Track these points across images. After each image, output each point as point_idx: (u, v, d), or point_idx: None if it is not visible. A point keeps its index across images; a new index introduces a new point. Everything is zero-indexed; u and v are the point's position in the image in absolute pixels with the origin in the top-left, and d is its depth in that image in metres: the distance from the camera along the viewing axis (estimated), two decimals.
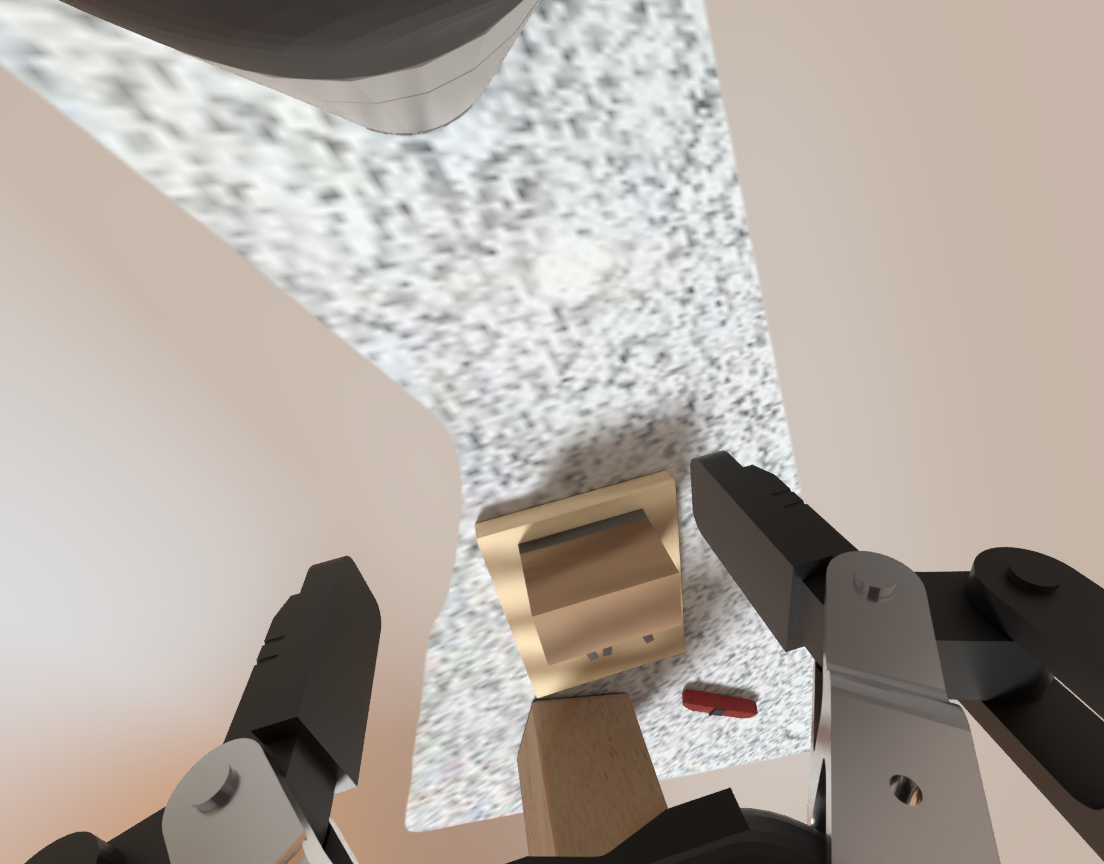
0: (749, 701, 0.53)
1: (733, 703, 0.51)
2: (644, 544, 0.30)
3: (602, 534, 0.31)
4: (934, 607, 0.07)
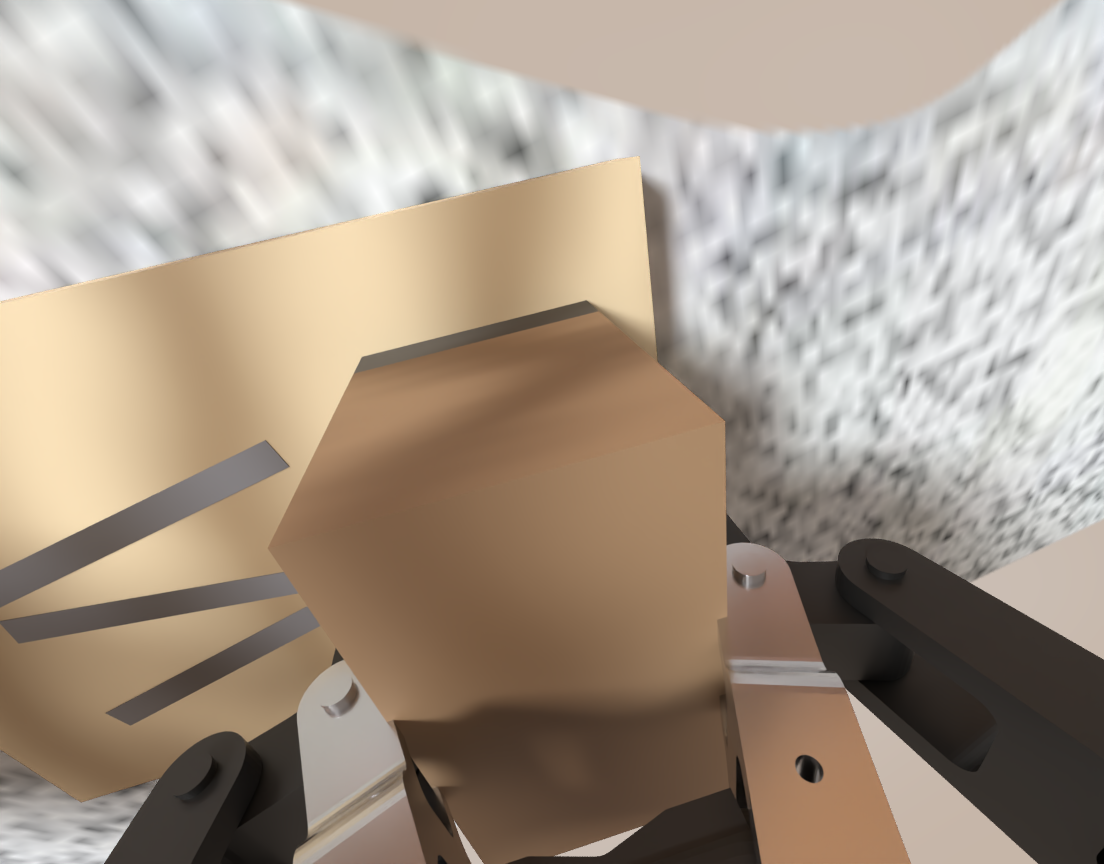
0: None
1: None
2: None
3: None
4: (804, 594, 0.07)
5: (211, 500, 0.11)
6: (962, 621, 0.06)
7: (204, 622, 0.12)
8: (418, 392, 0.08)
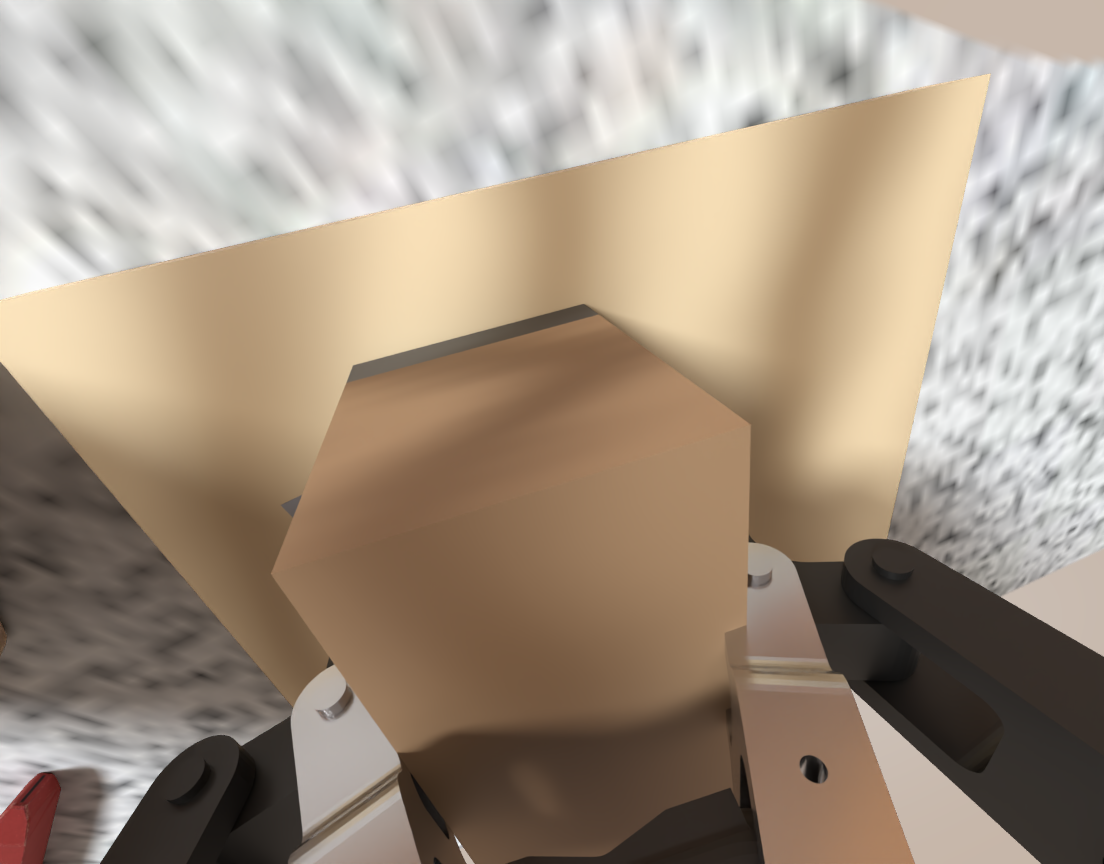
0: None
1: None
2: None
3: None
4: (810, 594, 0.07)
5: None
6: (969, 622, 0.06)
7: None
8: (419, 401, 0.07)
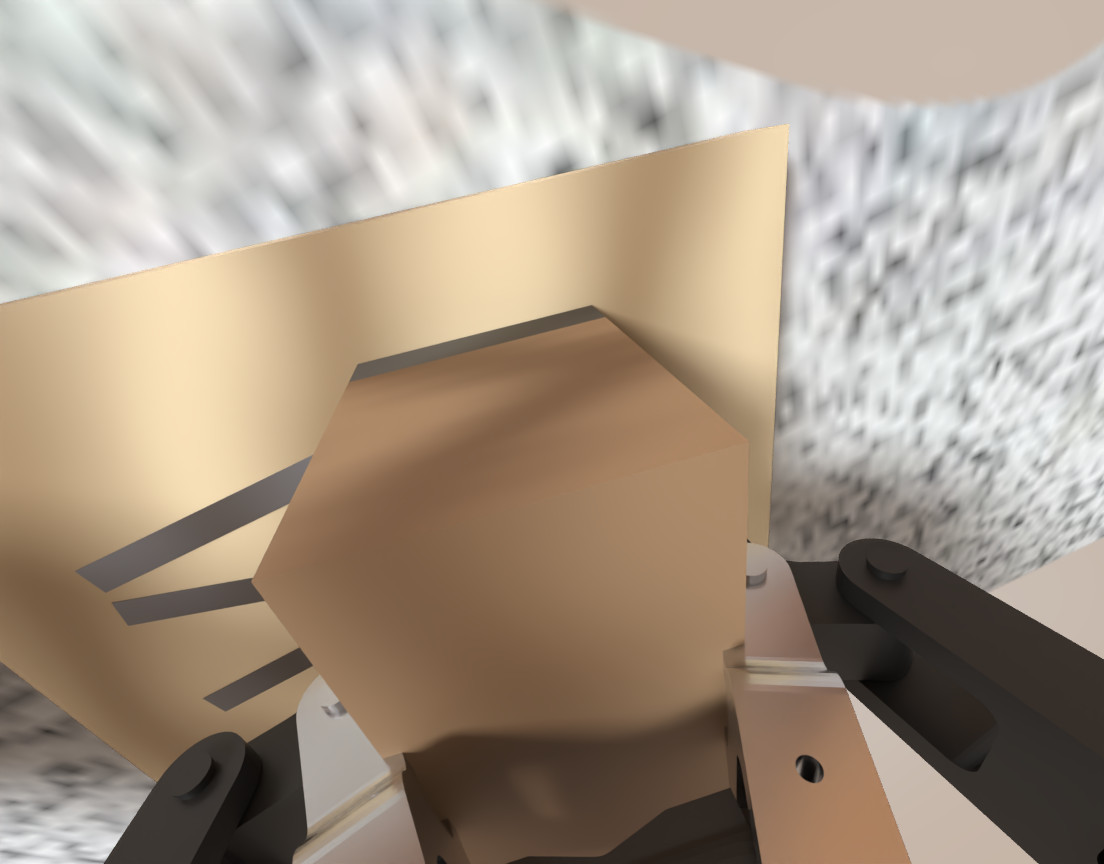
0: None
1: None
2: None
3: None
4: (804, 593, 0.07)
5: None
6: (962, 621, 0.06)
7: None
8: (416, 403, 0.07)
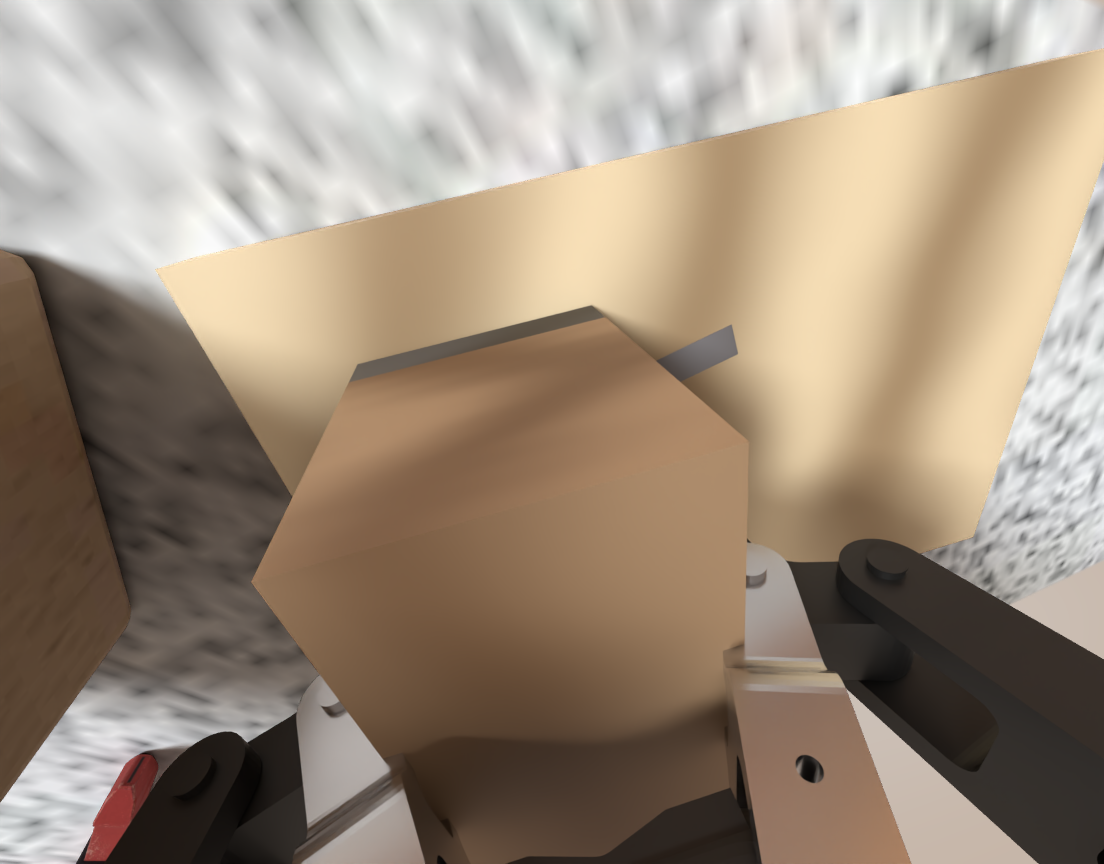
0: None
1: None
2: None
3: None
4: (804, 593, 0.07)
5: None
6: (963, 621, 0.06)
7: None
8: (416, 404, 0.07)
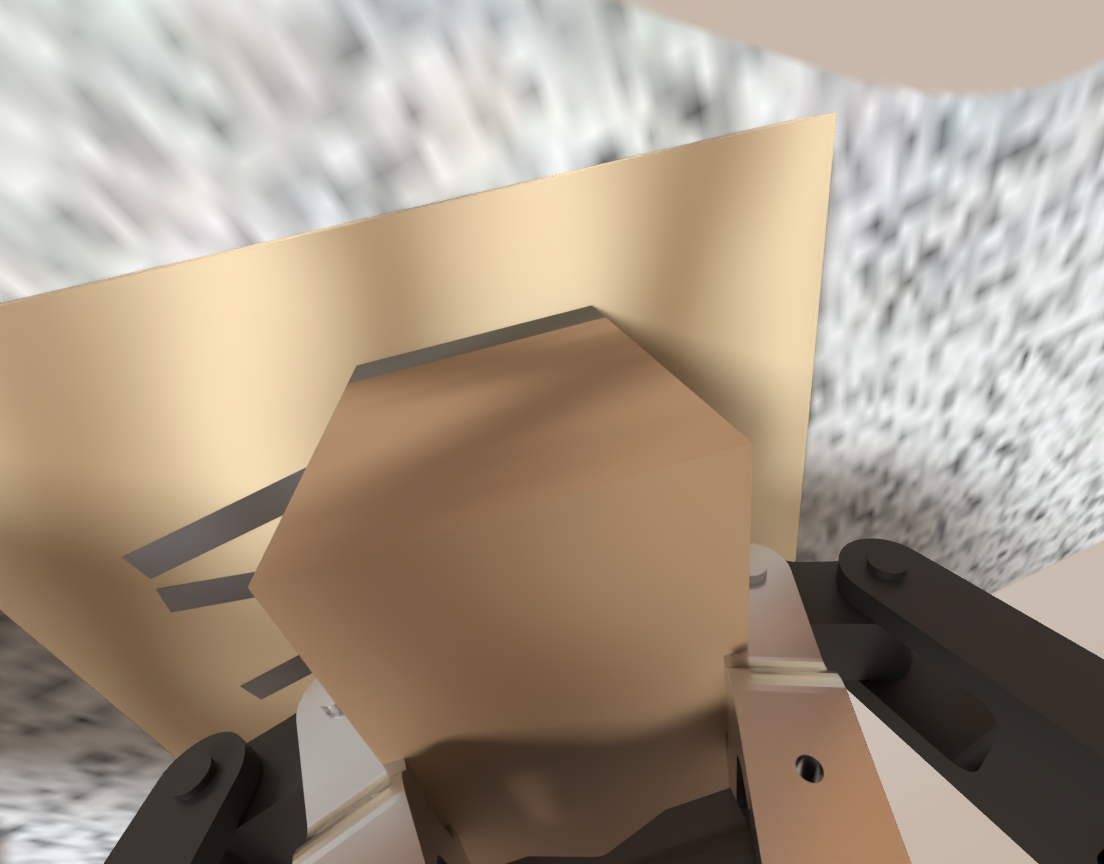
0: None
1: None
2: None
3: None
4: (804, 593, 0.07)
5: None
6: (963, 621, 0.06)
7: None
8: (415, 405, 0.07)
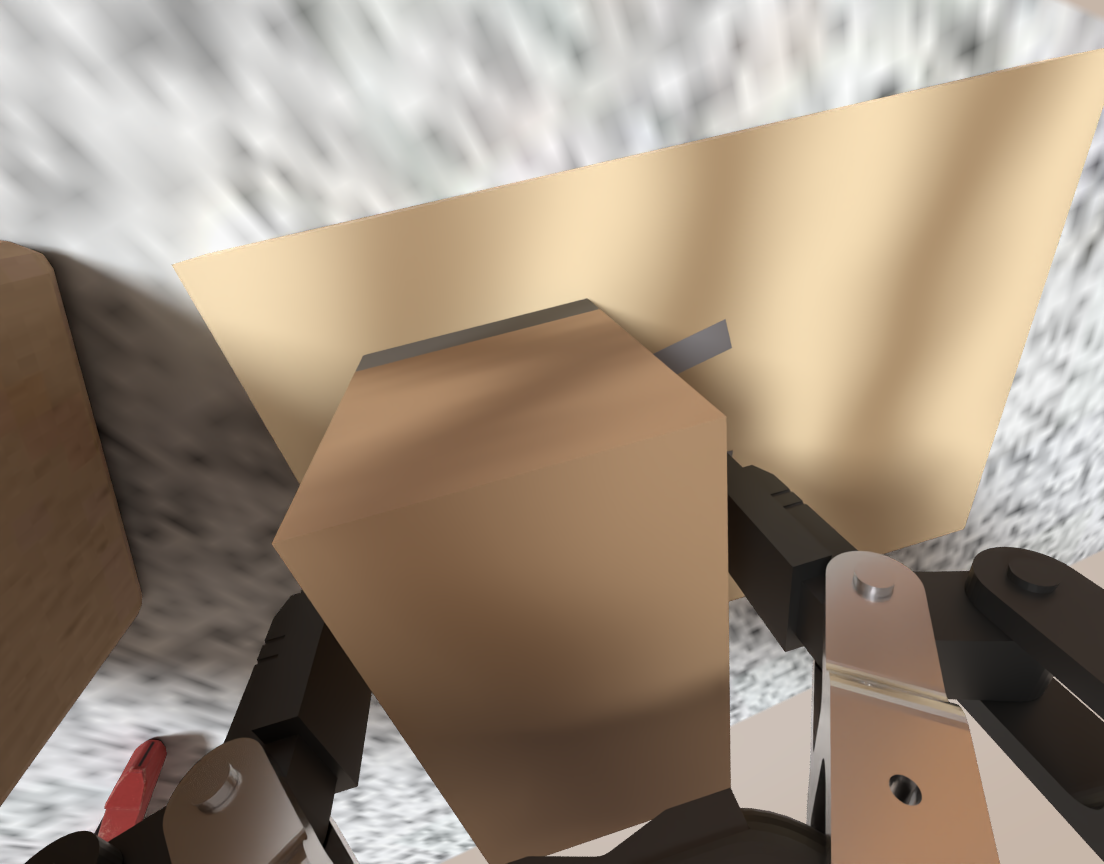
0: None
1: None
2: None
3: None
4: (933, 607, 0.07)
5: None
6: None
7: None
8: (420, 390, 0.08)
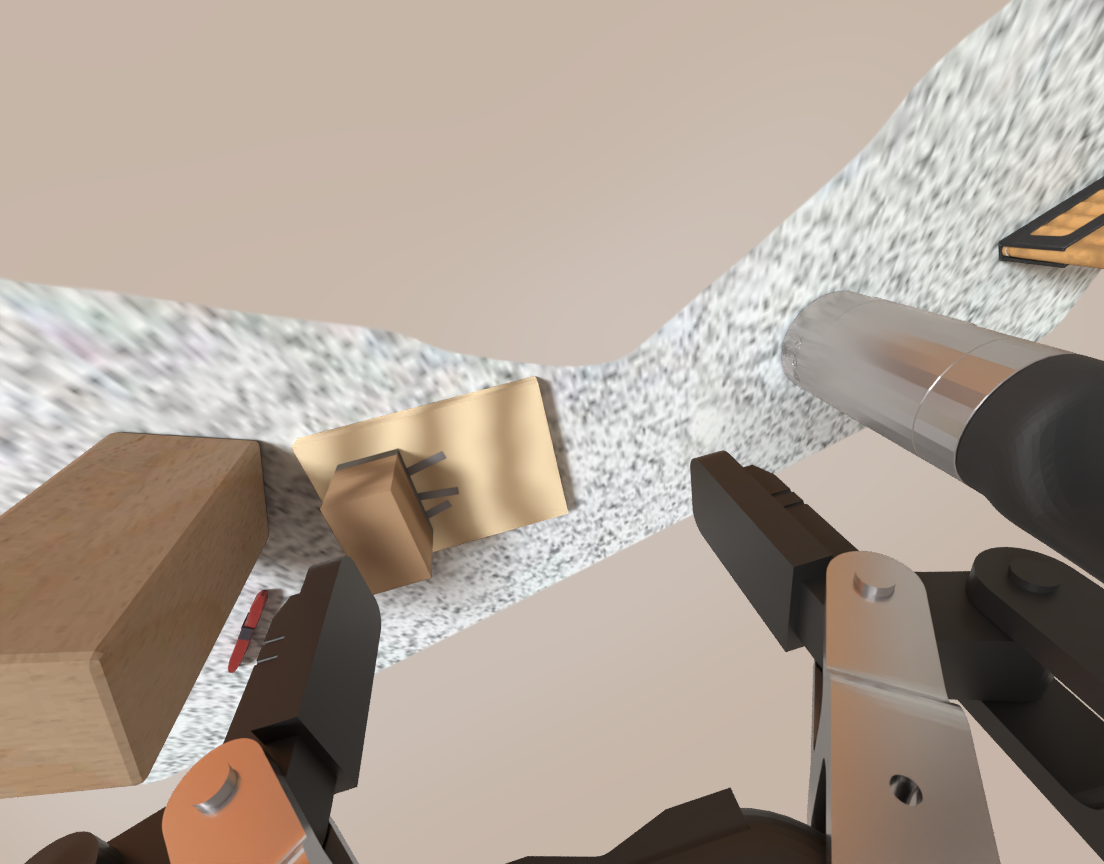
0: None
1: None
2: (428, 544, 0.40)
3: (420, 510, 0.40)
4: (934, 607, 0.07)
5: (425, 467, 0.40)
6: None
7: None
8: (348, 479, 0.36)
